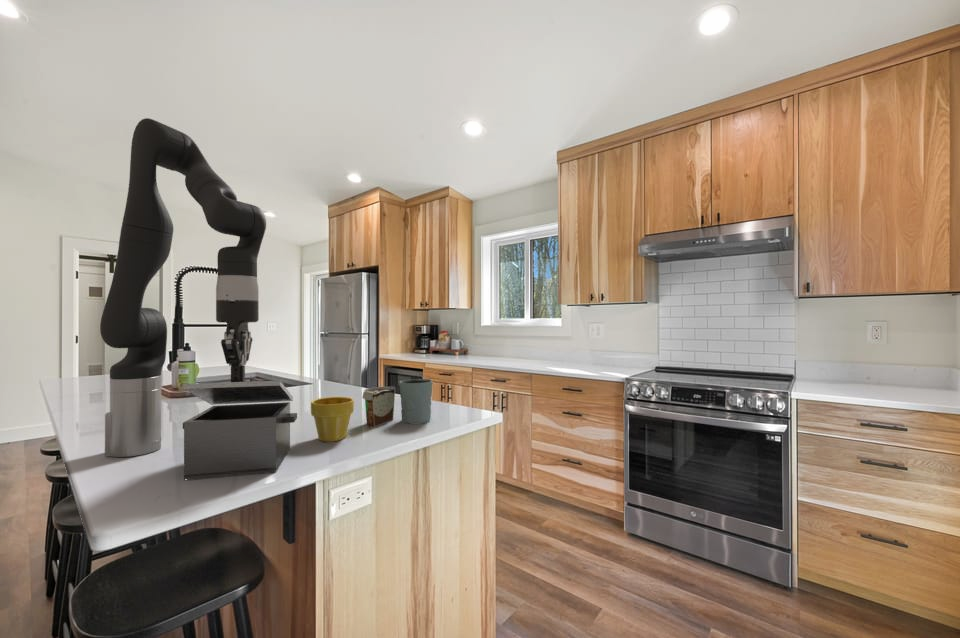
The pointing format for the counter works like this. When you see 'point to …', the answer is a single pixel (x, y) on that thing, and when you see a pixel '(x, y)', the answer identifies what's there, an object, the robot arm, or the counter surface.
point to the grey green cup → (416, 400)
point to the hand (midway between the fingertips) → (237, 384)
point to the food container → (379, 405)
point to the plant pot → (332, 417)
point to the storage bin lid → (240, 392)
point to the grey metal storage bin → (237, 440)
